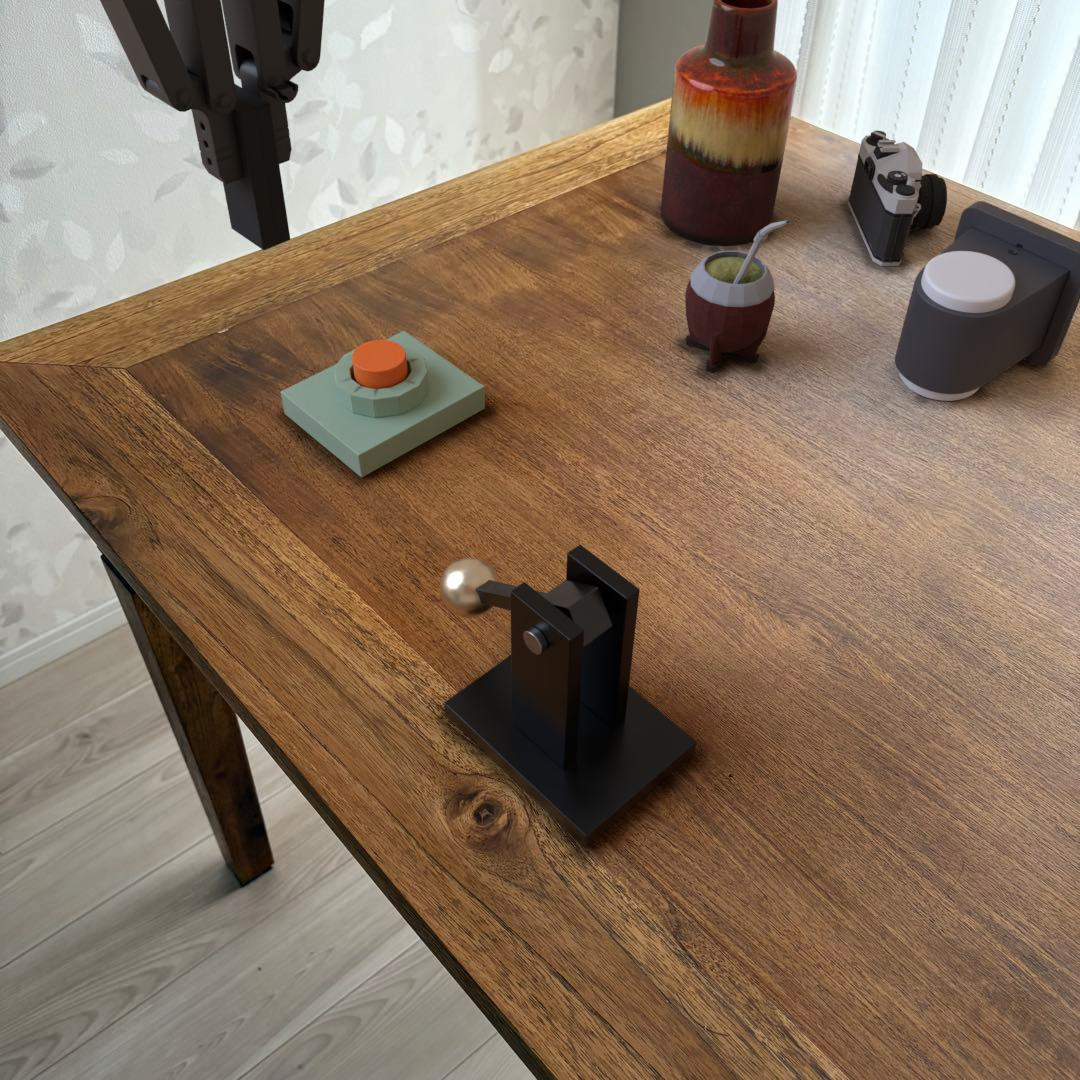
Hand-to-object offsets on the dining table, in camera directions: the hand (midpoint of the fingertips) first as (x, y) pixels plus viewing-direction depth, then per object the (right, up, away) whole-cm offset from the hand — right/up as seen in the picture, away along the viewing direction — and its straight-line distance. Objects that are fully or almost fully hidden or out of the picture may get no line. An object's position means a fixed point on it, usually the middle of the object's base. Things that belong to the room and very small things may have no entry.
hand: (260, 233), depth 53 cm
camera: (+47, +15, +54) cm, 73 cm away
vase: (+30, +17, +56) cm, 66 cm away
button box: (+1, -4, +34) cm, 34 cm away
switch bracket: (+15, -26, +13) cm, 33 cm away
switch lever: (+13, -19, +10) cm, 25 cm away
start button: (+1, -2, +31) cm, 32 cm away
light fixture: (+48, 0, +39) cm, 62 cm away
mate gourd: (+29, +1, +40) cm, 49 cm away
